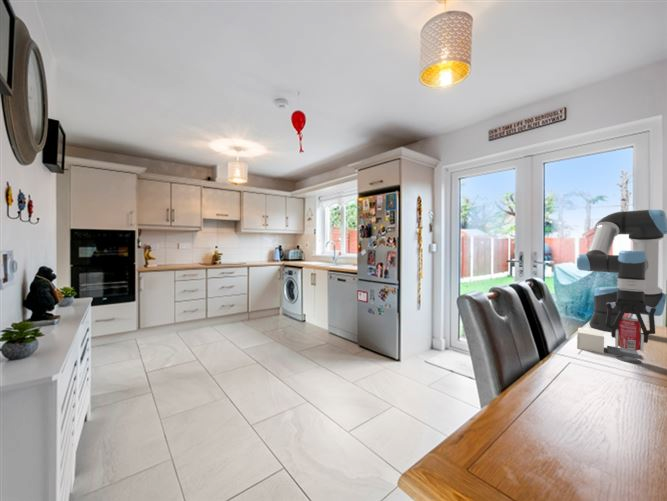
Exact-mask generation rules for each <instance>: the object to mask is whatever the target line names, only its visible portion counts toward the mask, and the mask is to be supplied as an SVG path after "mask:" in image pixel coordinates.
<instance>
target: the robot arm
mask: <svg viewBox="0 0 667 501" xmlns="http://www.w3.org/2000/svg"><path fill="white" fill-rule="evenodd" d="M618 235H628V239H629V240H631V241H632V250H620V251H619V252H618V255H615V254H610V253H611V252H610V251H611V248H612V246H613V243H614V239H615V237H617V236H618ZM664 235H667V215H666V212H665V211H664V210H662V209H640V210H628V211H617V212H613V213H610V214H608V215H606V216H604V217H602V218H600V220H599V221H597V222H596V223H595V225H594V227H593V237H592V239H591V241H590V243H589V246H588V249H587V251H586V253H584V254H579V255H578V256H577V257H576V268H577V269H578V270H579V271H583V272H585V271H586V272H597V273H598V272H601V273H616V274H617V283H616V284H617V286H600V287H596V288H595V289H594V294H593V314H592V316H591V318H590V320H589V325H590V326H591V327H590V326H589V327H590V328H592V327H594V328H593V329H595V328H597V329H596V330H599V329H601V330H600V331H604V330H605V331H604V332H610V333H611V335H610V336H611V338H614V347H618V348H619V346H618V324H619V322H620V321H621V319H622V317H624V315H625V314H631V315H635V316H636V319H637V320H638V321H639V323H640V325H641V341H640V350H639V351H640V352H644V346H645V345H644V344H648V343H649V335H655V334H656V323H655V317H661V316H662V315H663V313H664V311H665V310H664V309H665V304H666V301H667V293H664V292H663V289H662V288H660V287H659V248H660V247H659V242H660V240H662V239H663V238H664V237H665V236H664ZM642 315H646V316H648V325H649V326H648V327H649V329H648V328H647V327H646V325H645V322H644V320H643V317H642Z"/></svg>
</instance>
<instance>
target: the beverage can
mask: <svg viewBox="0 0 667 501" xmlns="http://www.w3.org/2000/svg"><path fill="white" fill-rule="evenodd" d="M641 333H642V329H641V325H640V323H639V321H638V319H637V318H633V317H624V316H623V317H622V319H621V321H620V322H619V324H618V348H622V349H625V350H629V351H637V352H638V351H640V341H641Z"/></svg>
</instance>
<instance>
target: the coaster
mask: <svg viewBox="0 0 667 501" xmlns="http://www.w3.org/2000/svg"><path fill="white" fill-rule="evenodd" d="M615 358H616V359H617V360H620V361H621V362H626V363H629V364H642V360H640V359H639V358H633V357H628V356H623V355H615Z"/></svg>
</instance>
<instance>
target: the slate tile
mask: <svg viewBox="0 0 667 501" xmlns="http://www.w3.org/2000/svg"><path fill="white" fill-rule="evenodd" d="M606 351H607V352H606V353H607V354H613V355H616V356H627V357H632V358H635V359H639V356H640V355H639V352H638V350H637V351H629V350H625V349H622V348H620V347H619V346H618V347H615V346H611V345H606Z"/></svg>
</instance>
